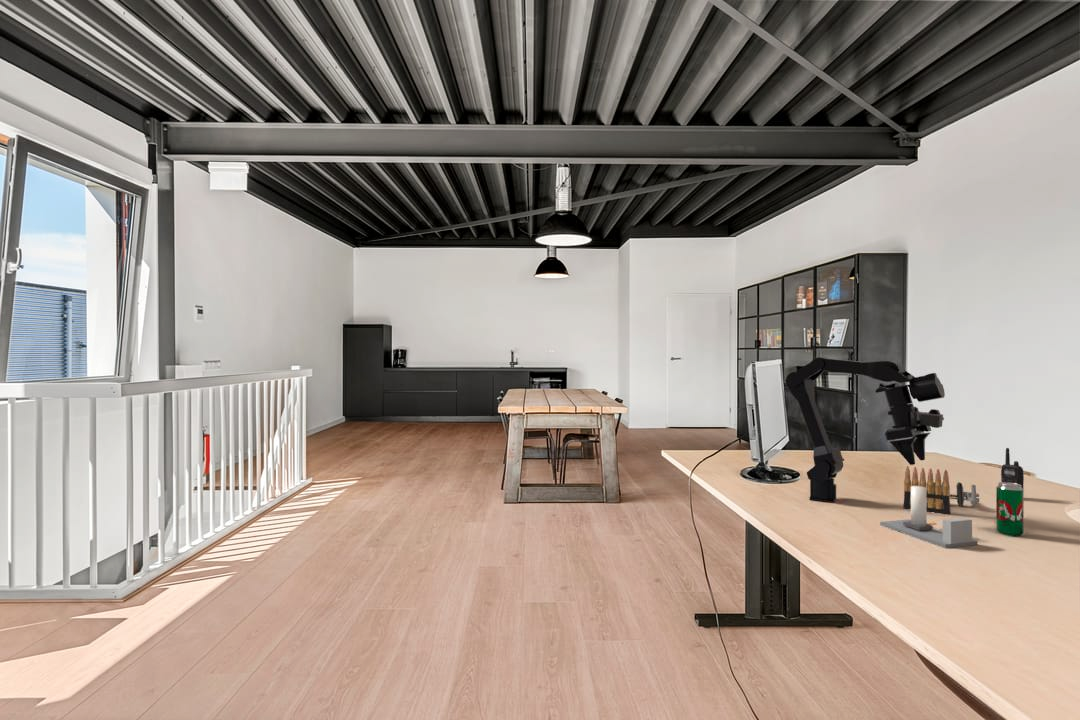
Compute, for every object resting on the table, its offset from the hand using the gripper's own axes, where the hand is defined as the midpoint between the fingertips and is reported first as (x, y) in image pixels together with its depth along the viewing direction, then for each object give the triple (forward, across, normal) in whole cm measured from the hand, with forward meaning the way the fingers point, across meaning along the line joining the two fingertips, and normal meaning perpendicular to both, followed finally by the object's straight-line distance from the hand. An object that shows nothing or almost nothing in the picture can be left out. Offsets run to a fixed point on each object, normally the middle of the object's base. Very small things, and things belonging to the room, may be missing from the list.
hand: (917, 462), depth 153 cm
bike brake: (+15, +24, +2) cm, 29 cm away
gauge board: (+15, -17, -2) cm, 23 cm away
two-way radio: (+18, +42, -10) cm, 47 cm away
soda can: (+19, -2, -15) cm, 24 cm away
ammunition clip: (+14, +7, +3) cm, 16 cm away
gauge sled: (+14, -15, -1) cm, 20 cm away
